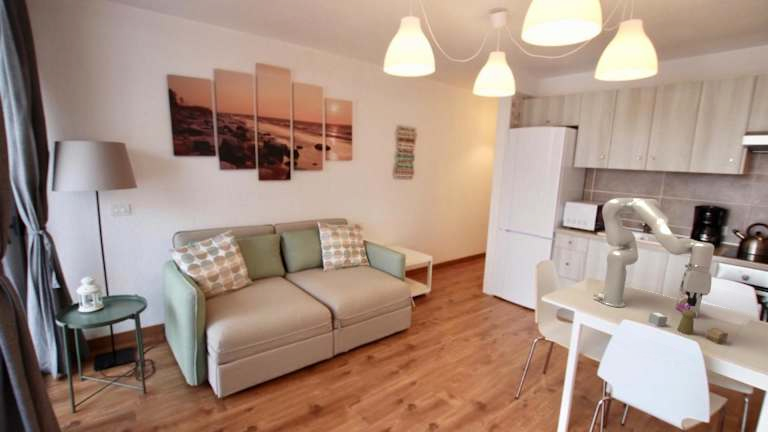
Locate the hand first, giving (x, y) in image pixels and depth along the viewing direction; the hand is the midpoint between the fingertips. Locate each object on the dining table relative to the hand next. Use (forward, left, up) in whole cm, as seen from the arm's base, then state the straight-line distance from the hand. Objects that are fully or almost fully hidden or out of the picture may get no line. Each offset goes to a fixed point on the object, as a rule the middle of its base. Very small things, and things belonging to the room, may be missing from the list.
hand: (691, 305), depth 170 cm
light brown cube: (+10, -5, -14) cm, 18 cm away
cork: (0, 0, -14) cm, 14 cm away
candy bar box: (+12, +26, -14) cm, 32 cm away
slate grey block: (-10, +5, -14) cm, 18 cm away
